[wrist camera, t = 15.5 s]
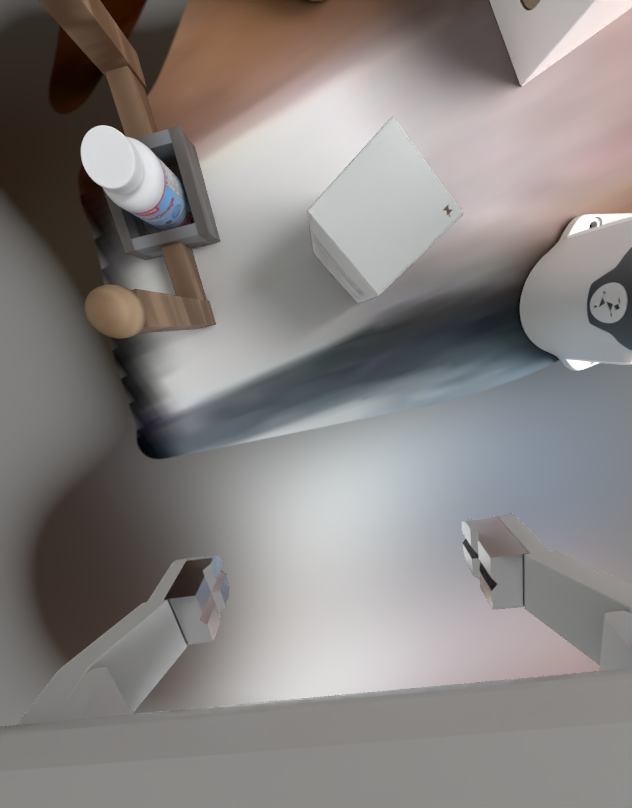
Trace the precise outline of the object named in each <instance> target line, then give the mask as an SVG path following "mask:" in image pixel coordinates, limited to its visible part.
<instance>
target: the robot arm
mask: <svg viewBox="0 0 632 808" xmlns="http://www.w3.org/2000/svg"><path fill="white" fill-rule="evenodd" d="M590 224H591V225H592V228H591V229H590ZM520 318H521V323H522V326H523V329H524V331H525V333H526V334H527V336H528V337H529V339H530V340H531V341H532V342H533V343H534V344H535V345H536V346H538V347H539V348H541V349H542V350H544V351H547V352H549V353H551V354H553V355H555V356H557V357H558V358H559V360H560V361H561V362H562V364H563V365H564V366H565V367H566V368H568V369H570V370H582V369H585V368H588V367H591V366H593V365H596V364H599V363H610V364H622V365H628V364H632V213H619V214H585V215H581V216H578V217H575V218H574V219H572V220H571V222H570V223H569V224H568V226H567V227H566V229H565V230H564V232H563V234H562V236H561V238H560V240H559V241H558V243H557V244H556V245H555V246H554V247H553V248H552V249H551V250H550V251H549V252H547V253H546V254H545V255H544V256H543V257H542V258H541V259H540V260H539V262H538V263H537V264H536V265H535V267H534V268H533V269H532V271H531V273H530V274H529V276H528V278H527V280H526V282H525V285H524V287H523V291H522V294H521V299H520ZM461 526H462V533H463V534H464V536H465V537H466V539H465V540H464V542H463V551H464V555H465V559H466V562H467V564H468V567H469V569H470V570H471V573H472V574H473V575H474V576H475V577H476V578H478V579H479V580H480V587H481V590H482V592H483V594H484V595H485V597H486V599H487V601H488V602H489V604H490V606H491V607H492V609H505V608H517V607H525V609H526V610H527V611H528V612H530V613H531V614H533V615H534V616H535V617H536V618H538V619H539V620H540V621H542V622H543V623H544V624H546V625H547V626H548V627H550V628H551V629H552V630H554V631H555V632H556V633H558V634H559V635H560V636H562V637H563V638H565V639H566V640H567V641H568V642H570V643H571V644H572V645H573V646H575V647H576V648H577V649H579V650H580V651H582V652H583V653H584V654H585V655H587V656H588V657H589V658H591V659H592V660H593V661H595V662H596V663H597V664H599V665H600V668H599V671H593V672H582V673H572V674H561V675H550V676H539V677H528V678H518V679H508V680H507V679H506V680H496V681H485V682H475V683H464V684H455V685H454V684H453V685H442V686H433V687H421V688H410V689H400V690H391V691H390V690H389V691H379V692H368V693H357V694H346V695H335V696H325V697H313V698H302V699H291V700H282V701H281V700H280V701H270V702H259V703H249V704H237V705H226V706H216V707H205V708H194V709H184V710H172V711H162V712H151V713H140V714H133V712H134V711H135V710H136V709H137V707H138V706H139V705H140V704H141V702H142V701H143V700H144V699H145V697H146V696H147V695H148V694H149V693H150V692H151V690H152V689H153V688H154V687H155V685H156V684H157V683H158V682H159V681H160V679H161V678H162V677H163V675H164V674H165V673H166V672H167V671H168V670H169V668H170V667H171V666H172V664H173V663H174V662H175V661H176V660H177V659H178V657H179V656H180V655H181V654H182V652H183V651H184V650H185V649H186V648H187V645H190V644H197V643H204V642H210V641H214V638H215V635H216V632H217V630H218V627H219V624H220V621H221V618H220V615H219V613H220V612H221V611H222V609H223V608H224V607H225V606H226V604H227V600H228V597H229V580H228V577H227V574H226V573H224V572H223V571H221V568H222V565H223V563H222V560H221V558H220V556H218V555H213V556H204V557H195V558H189V559H180V560H176V561H174V562H173V563H172V564H171V566H170V567H169V569H168V570H167V572H166V574H165V575H164V577H163V578H162V580H161V581H160V583H159V585H158V586H157V588H156V589H155V591H154V592H153V594H152V596H151V597H150V599H149V600H148V602H147V603H142V604H141V605H140V606H138V607H137V608H136V609H135V610H133V611H132V612H131V613H130V614H128V615H127V616H126V617H124V618H123V619H122V620H121V621H119V622H118V623H117V624H116V625H115V626H113V627H112V628H111V629H110V630H108V631H107V632H106V633H105V634H103V635H102V636H101V637H99V638H98V639H97V640H96V641H94V642H93V643H92V644H91V645H89V646H88V647H87V648H86V649H85V650H83V651H82V652H81V653H79V654H78V655H77V656H76V657H74V658H73V659H72V660H71V661H69V662H68V663H67V664H66V665H64V666H63V667H62V668H61V669H59V670H58V671H57V673H56V674H55V675H54V676H53V678H52V679H51V680H50V682H49V683H48V684H47V686H46V687H45V688H44V690H43V691H42V692H41V694H40V695H39V696H38V697H37V699H36V700H35V701H34V703H33V704H32V705H31V707H30V708H29V709H28V711H27V712H26V713H25V714H24V716H23V717H22V719H21V720H20V721H19V722H18V724H17V725H11V726H1V727H0V808H632V585H631V584H629V583H626V582H624V581H622V580H620V579H617V578H615V577H613V576H611V575H609V574H606V573H604V572H602V571H600V570H598V569H595V568H593V567H591V566H589V565H586V564H584V563H582V562H580V561H578V560H575V559H573V558H571V557H569V556H566V555H564V554H562V553H560V552H558V551H549V550H548V549H547V548H546V546H544V545H543V543H542V542H541V541H540V540H539V539H538V538H537V537H536V536H535V535H534V534H533V533H532V532H531V531H530V530H529V529H528V528H527V527H526V526H525V525H524V524H523V523H522V522H521V521H520V520H519V519H518V518H517V517H516V516H515V515H514V514H512V513H508V514H502V515H496V516H492V517H485V518H479V519H471V520H465V521H462V524H461Z"/></svg>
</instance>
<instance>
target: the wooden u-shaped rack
mask: <svg viewBox="0 0 632 808" xmlns="http://www.w3.org/2000/svg"><path fill="white" fill-rule="evenodd" d="M38 1H39V2H40V3H41V4H42V5H43V6H44V8H45V9H46V10H47V11H48V12H49V13H50V14H51V16H52V17H53V18H54V19H55V20H56V21H57V22H58V23H59V25H60V26H61V27H62V28H63V29H64V30H65V31H66V33H67V34H68V35H69V36H70V37H71V38H72V39H73V40H74V42H75V43H76V44H77V45H78V46H79V47H80V48H81V49H82V51H83V52H84V53H85V54H86V55H87V56H88V57H89V58H90V60H91V61H92V62H93V63H94V64H95V65H96V66H97V67H98V69H99V70H100V71H101V72H102V73H103V74H104V75H105V76H106V77H107V80H108V83H109V86H110V89H111V92H112V95H113V98H114V101H115V105H116V108H117V111H118V114H119V117H120V120H121V123H122V127H123V130H124V133H125V136H126V137H130V138H133V139H136V140H138V141H140V142H141V143H143V144H144V145H146V146H147V147H148V148H149V149H150V150H151V151H152V152H153V153H154V154H155V155H156V156H157V157H158V158H159V159H160V160H161V161H162V162H163V163H164V164H165V165H166V166H167V167H168V168H169V167H173V166H176V165H178V166H179V169H180V173H181V176H182V180H183V183H184V187H185V190H186V194H187V197H188V201H189V204H190V208H191V211H192V215H193V218H194V222H195V223H193V224H189V225H185V226H181V227H177V228H173V229H169V230H165V231H161V232H157V233H153V234H149V235H147V234H146V231H145V228H144V225H143V222H142V219H140V218H139V217H137V216H135V215H133V214H132V213H130V212H128V211H126V210H125V209H123V208H121V207H120V206H118V205H117V204H116V203H114V202H113V201H112V200H111V199H110V198H109V196H108V195H107V194H106V192H105V191H104V189H103V191H104V194H105V196H106V199H107V202H108V205H109V208H110V211H111V214H112V216H113V219H114V222H115V225H116V228H117V231H118V234H119V236H120V239H121V242H122V245H123V248H124V251H125V253H127V254H130V255H133V256H136V257H139V258H142V259H145V260H146V259H150V258H155V257H159V256H163V255H164V258H165V261H166V264H167V267H168V271H169V274H170V277H171V280H172V283H173V286H174V289H175V292H176V296H175V295H169V294H163V293H156V292H150V291H144V290H138V289H134V290H129V289H127V288H125V287H122V286H119V285H103V286H100V287H97V288H95V289H94V290H93V291H91V292H90V293H89V295H88V296H87V298H86V301H85V313H86V316H87V318H88V320H89V322H90V323H91V324H92V326H93V327H94V328H95V329H97V330H98V331H99V332H101V333H102V334H104V335H107V336H109V337H113V338H128V337H132V336H134V335H136V334H137V333H148V332H162V331H175V330H189V329H197V328H202V327H206V326H211V325H215V324H216V323H215V319H214V316H213V312H212V309H211V305H210V302H209V301H207V300H206V296H205V293H204V290H203V286H202V283H201V279H200V276H199V273H198V269H197V266H196V262H195V259H194V256H193V252H192V249H191V248H195V247H199V246H203V245H207V244H212V243H216V242H220V239H219V235H218V231H217V228H216V224H215V220H214V217H213V213H212V209H211V205H210V202H209V198H208V194H207V191H206V187H205V183H204V179H203V176H202V172H201V168H200V165H199V161H198V157H197V153H196V150H195V147H194V146H193V144H192V143H191V142H190V140H189V139H188V138H187V136H186V135H185V133H184V132H183V131H182V129H181V128H180V127H179V126H177V127H173V128H170V129H166V130H162V131H159V132H157V130H156V127H155V123H154V120H153V116H152V113H151V110H150V106H149V103H148V100H147V96H146V93H145V90H144V88H146V83H145V80H144V77H143V73H142V70H141V67H140V63H139V60H138V56H137V53H136V52H135V50H134V49H133V47H132V46H131V44H130V43H129V41H128V40H127V39H126V37H125V36H124V34H123V33H122V31H121V30H120V28H119V27H118V26H117V24H116V23H115V21H114V20H113V18H112V17H111V15H110V14H109V13H108V11H107V10H106V8H105V7H104V5H103V4H102V3H101V1H100V0H38ZM102 188H103V187H102Z"/></svg>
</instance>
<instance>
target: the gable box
mask: <svg viewBox="0 0 632 808" xmlns="http://www.w3.org/2000/svg"><path fill="white" fill-rule="evenodd" d="M489 1H490V4H491V6H492V9H493V12H494V15H495V17H496V20H497V23H498V26H499V28H500V31H501V34H502V37H503V39H504V42H505V45H506V48H507V50H508V53H509V56H510V59H511V61H512V64H513V67H514V70H515V72H516V75H517V78H518V81H519V83H520V85H522V86H523V85H525V84H526V83H527V82H529V81H530V80H532V79H533V78H534V77H536V76H537V75H539V74H540V73H541V72H543V71H544V70H546V69H547V68H548V67H550V66H551V65H552V64H554V63H555V62H557V61H558V60H559V59H561V58H562V57H564V56H565V55H566V54H568V53H569V52H571V51H572V50H573V49H575V48H576V47H578V46H579V45H580V44H582V43H583V42H584V41H586V40H587V39H589V38H590V37H591V36H593V35H594V34H596V33H597V32H598V31H600V30H601V29H603V28H604V27H605V26H607V25H608V24H610V23H611V22H612V21H614V20H615V19H616V18H618V17H619V16H621V15H622V14H623V13H625V12H626V11H628V10H629V9H630V8H632V0H489Z"/></svg>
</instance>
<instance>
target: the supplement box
mask: <svg viewBox="0 0 632 808" xmlns="http://www.w3.org/2000/svg"><path fill="white" fill-rule="evenodd" d="M307 212H308V219H309V226H310V232H311V239H312V246H313V253H314V254H315V256H316V257H317V258H318V259H319V260H320V261H321V263H322V264H323V265H324V266H325V267H326V268H327V269H328V270H329V272H330V273H331V274H332V275H333V276H334V277H335V278H336V280H337V281H338V282H339V283H340V284H341V285H342V286H343V288H344V289H345V290H346V291H347V292H348V293H349V294H350V296H351V297H352V298H353V299H354V300H355V301H356V302H357V303H358V304H360V303H362V302H364V301H367V300H369V299H372V298H375V297H377V296H379V295H380V294H382V293H383V292H384V291H385V290H386V289H387V288H388V287H389V286H390V285H391V284H392V283H393V282H394V281H395V280H396V279H397V278H398V277H399V276H400V275H401V274H402V273H403V272H404V271H405V270H406V269H407V268H408V267H409V266H411V265H412V264H413V263H414V262H415V261H416V260H417V259H418V258H419V257H420V256H421V255H422V254H423V253H424V252H425V251H426V250H427V249H428V248H429V247H430V246H431V245H432V244H433V243H434V242H436V241H437V240H438V239H439V238H440V237H441V236H442V235H443V234H444V233H445V232H446V231H447V230H448V229H449V228H450V227H451V226H452V225H453V224H454V223H455V222H456V221H457V220H458V219H459V218H460V217H461V216H462V215H463V214H464V212H463V211H462V210H461V208H460V207H459V206H458V204H457V203H456V202H455V200H454V199H453V198H452V196H451V195H450V193H449V192H448V191H447V189H446V188H445V187H444V185H443V184H442V183H441V181H440V180H439V179H438V177H437V176H436V175H435V173H434V172H433V171H432V169H431V168H430V167H429V165H428V164H427V163H426V161H425V160H424V158H423V157H422V156H421V154H420V153H419V151H418V150H417V149H416V147H415V146H414V144H413V143H412V141H411V140H410V139H409V137H408V136H407V134H406V133H405V132H404V130H403V129H402V128H401V126H400V125H399V124H398V122H397V121H396V120H395V118H394V117H391V118H390V119H389V121H388V122H387V123H386V124H385V125H384V126H383V127H382V128H381V129H380V130H379V132H378V133H377V134H376V135H375V136H374V137H373V138H372V139H371V140H370V142H369V143H368V144H367V145H366V146H365V147H364V148H363V149H362V150H361V151H360V153H359V154H358V155H357V156H356V157H355V158H354V159H353V160H352V161H351V163H350V164H349V165H348V166H347V167H346V168H345V169H344V170H343V171H342V172H341V174H340V175H339V176H338V177H337V178H336V179H335V180H334V181H333V182H332V184H331V185H330V186H329V187H328V188H327V189H326V190H325V191H324V192H323V194H322V195H321V196H320V197H319V198H318V199H317V200H316V202H315V203H314V204H313V205H312V206H311V207H310V208H309V209H308V211H307Z"/></svg>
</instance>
